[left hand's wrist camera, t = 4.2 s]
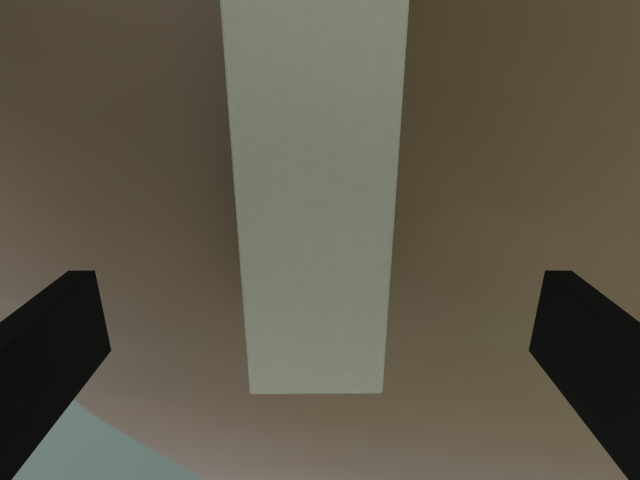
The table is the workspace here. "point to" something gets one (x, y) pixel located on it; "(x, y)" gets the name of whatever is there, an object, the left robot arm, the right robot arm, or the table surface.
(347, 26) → the beam
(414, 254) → the table surface
